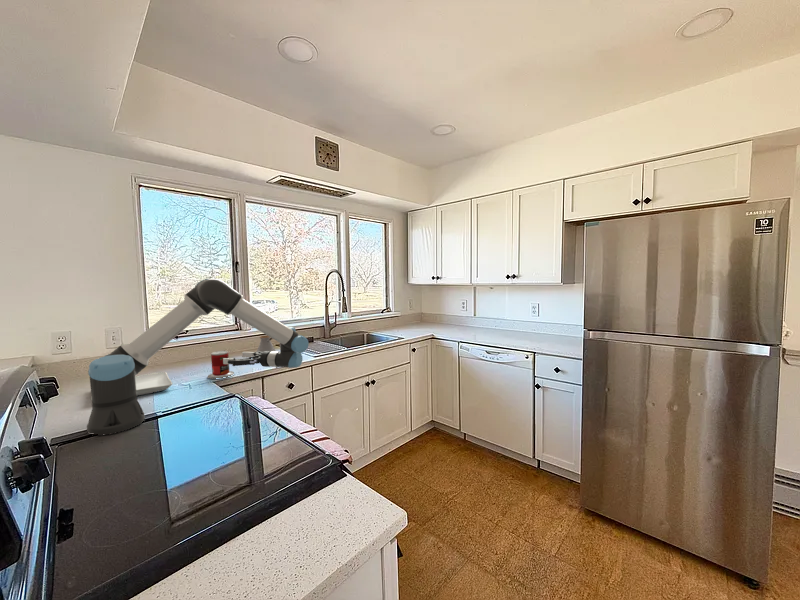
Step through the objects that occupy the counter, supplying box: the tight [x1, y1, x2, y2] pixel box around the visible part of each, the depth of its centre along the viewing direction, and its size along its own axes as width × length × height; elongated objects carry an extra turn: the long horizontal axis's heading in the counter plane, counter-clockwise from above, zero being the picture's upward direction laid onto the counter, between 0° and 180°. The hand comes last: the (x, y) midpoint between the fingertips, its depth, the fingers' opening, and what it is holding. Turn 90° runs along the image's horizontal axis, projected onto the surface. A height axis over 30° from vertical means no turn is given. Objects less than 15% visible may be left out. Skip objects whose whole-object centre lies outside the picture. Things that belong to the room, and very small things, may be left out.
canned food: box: [210, 350, 230, 376], centre depth 172 cm, size 8×8×11 cm
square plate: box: [90, 371, 173, 402], centre depth 153 cm, size 27×27×4 cm
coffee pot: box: [256, 334, 277, 352], centre depth 210 cm, size 21×12×15 cm, turn 41°
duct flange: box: [207, 370, 235, 380], centre depth 173 cm, size 12×12×1 cm
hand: (233, 357), depth 170 cm, fingers open, 13 cm apart
